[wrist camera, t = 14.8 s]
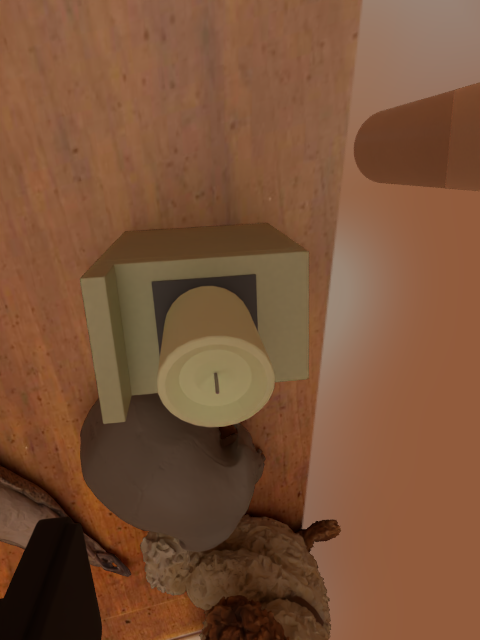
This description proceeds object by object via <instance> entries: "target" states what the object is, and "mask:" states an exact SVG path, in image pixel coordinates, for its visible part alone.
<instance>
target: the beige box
mask: <svg viewBox="0 0 480 640" xmlns="http://www.w3.org/2000/svg"><path fill="white" fill-rule="evenodd" d="M80 284H81V290H82V296H83V302H84V308H85V315H86V321H87V327H88V333H89V339H90V345H91V352H92V358H93V364H94V370H95V376H96V383H97V389H98V395H99V401H100V407H101V413H102V420H103V423H104V424H107V423H118V422H125V421H126V417H127V413H128V409H129V405H130V401H131V396H132V395H142V394H153V393H158V390H157V374H158V367H159V360H160V352H161V345H162V338H163V331H164V324H165V319H166V315H167V312H168V311H169V309H170V307H171V305H172V304H173V302H174V301H175V300H176V299H177V298H178V297H179V296H180V295H182V294H184V293H185V292H187V291H189V290H190V289H194V288H197V287H201V286H216V287H220V288H225V289H227V290H228V291H230V292H232V293H234V294H235V295H237V296H238V297H239V298H240V299H241V300H242V301H243V302H244V304H245V306H246V307H247V309H248V310H249V313H250V315H251V317H252V320H253V322H254V324H255V327H256V329H257V331H258V333H259V336H260V338H261V340H262V343H263V345H264V347H265V350H266V352H267V354H268V356H269V359H270V361H271V363H272V366H273V370H274V374H275V382H283V381H294V380H305V379H308V378H309V251H307V250H306V249H304V248H303V247H302V246H300V245H299V244H298V243H296V242H295V241H293V240H292V239H290V238H289V237H287V236H286V235H284V234H283V233H282V232H280V231H279V230H277V229H276V228H274V227H273V226H271V225H270V224H268V223H257V224H241V225H224V226H208V227H191V228H175V229H159V230H142V231H126V232H124V233H123V234H122V235H121V236H120V237H119V238H118V239H117V240H116V241H115V242H114V243H113V244H112V245H111V247H110V248H109V249H108V250H107V251H106V252H105V253H104V254H103V255H102V256H101V257H100V258H99V259H98V260H97V261H96V263H95V264H94V265H93V266H91V268H90V269H89V270H88V271H87V272H86V273H85V274H84V275H83V276H82V277H81V278H80Z"/></svg>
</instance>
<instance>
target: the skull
mask: <svg viewBox="0 0 480 640" xmlns="http://www.w3.org/2000/svg"><path fill="white" fill-rule="evenodd" d="M233 425H234V426H235V428H236V429H237V431H238V434H237V433H233V434H232V435H231V436H228V437H227V438H225V439H224V440H222V439H221V438H220V437H221V433H220V430H219V429H218V427H205V426H198V425H194V424H191V423H188V422H185V421H183V420H181V419H179V418H178V417H176V416H175V415H173V414H172V413H171V412H170V411H169V410H168V409H167V408H166V407H165V406H164V405H163V403H162V401H161V399H160V397H159V395H158V393H153V394H142V395H132V396H131V401H130V405H129V409H128V413H127V417H126V421H125V422H118V423H107V424H104V423H103V420H102V413H101V407H100V401H99V398H98V400H97V401H96V402H95V404H94V405H93V406H92V408H91V410H90V411H89V413H88V415H87V417H86V419H85V421H84V424H83V426H82V429H81V434H80V437H81V447H80V458H81V467H82V473H83V477H84V480H85V482H86V484H87V485H88V487H89V488H90V489H91V490H92V492H93V493H94V495H95V496H96V497H97V498H98V499H99V500H100V501H101V502H102V503H103V504H104V505H105V506H106V507H107V508H108V509H109V510H110V511H112V512H113V513H114V514H115V515H117V516H118V517H119V518H120V519H122V520H123V521H125V522H126V523H128V524H131V525H132V526H134V527H136V528H139V529H141V530H144V531H151V532H157V533H162V534H166V535H169V536H172V537H174V538H178V539H179V544H180V546H181V548H182V549H185V550H188V551H194V552H202V551H207V550H210V549H212V548H215V547H216V546H218V545H219V544H221V543H222V542H224V541H225V540H226V539H228V538H229V536H230V535H231V534H232V532H233V531H234V530H235V528H236V527H237V525H238V523H239V521H240V519H241V518H242V516H243V515H244V514H245V513H246V511H247V510H248V508H249V504H250V501H251V499H252V496H253V492H254V486H255V484H256V483H257V482H258V480H259V479H260V478H261V476H262V472H263V468H264V461H265V456H264V455H263V454H262V455H261V453H262V451H261V450H260V449H258V450H257V452H256V450H255V446H254V444H253V443H252V438H251V435H250V434H249V432H248V431H247V430H246V429H245V428H244V427H243V426H242V425H241V424H240V423H237V424H233Z"/></svg>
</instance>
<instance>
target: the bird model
mask: <svg viewBox="0 0 480 640" xmlns="http://www.w3.org/2000/svg"><path fill="white" fill-rule="evenodd" d="M59 517H69V516H68V515H67V514H66V513H65V512H64V510H63V509H62V508H61V507H60V506H59V505H58V503H57V502H56V501H55V500H54V499H53V498H52V497H51V496H50V495H49V494H48V493H47V492H45V491H44V490H43V489H41V488H40V487H39V486H37V485H36V484H34V483H32V482H30V481H28V480H26V479H24V478H22V477H20V476H18V475H17V474H15V473H13V472H12V471H10V470H8V469H6V468H4V467H2V466H0V541H2V542H5V543H8V544H11V545H15V546H18V547H20V548H22V549H25V548H26V546H27V544H28V542H29V539H30V537H31V535H32V533H33V530H34V528H35V526H36V524H37V522H38V521H39V520H40V519H49V518H59ZM72 522H73V521H72ZM73 524H75V523H74V522H73ZM83 534H84V533H83ZM84 539H85V544H86V549H87V554H88V558H89V563H90V564H91V565H93V566H98V567H102V568H103V569H104V570H106V571H111V572H114V573H117V574H120V575H123V576H127V577H128V576H130V575H131V572H130V571H129V569H128V568H127V567H126V566H125V565H124V564H123V563H122V562H121V561H120V559H119V558H118V557H116V556H115V555H114V554H112V553H107V552H106V551H105V550H104V549H103V548H102V547H101V546H100V545H99V544H98V543H97V542H96V541H94V540H93V539H91V538H90V537H88V536H87V535H86V534H84ZM113 562H114V563H115V564H116V565H117V567H114V566H113V565H112V563H113Z"/></svg>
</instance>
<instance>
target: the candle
mask: <svg viewBox="0 0 480 640" xmlns="http://www.w3.org/2000/svg"><path fill="white" fill-rule="evenodd" d="M274 384H275V374H274V370H273V366H272V363H271V361H270V359H269V356H268V354H267V352H266V350H265V347H264V345H263V343H262V340H261V338H260V336H259V333H258V331H257V329H256V327H255V324H254V322H253V320H252V317H251V315H250V313H249V310H248V309H247V307H246V306H245V304H244V302H243V301H242V300H241V299H240V298H239V297H238V296H237V295H235V294H234V293H232V292H230V291H228V290H227V289H225V288H220V287H216V286H201V287H197V288H194V289H190V290H189V291H187V292H185V293H184V294H182V295H180V296H179V297H178V298H177V299H176V300H175V301H174V302H173V304H172V305H171V307H170V309H169V311H168V312H167V315H166V319H165V324H164V331H163V338H162V345H161V352H160V360H159V367H158V374H157V390H158V395H159V397H160V399H161V401H162V403H163V405H164V406H165V407H166V408H167V409H168V410H169V411H170V412H171V413H172V414H173V415H175V416H176V417H178V418H179V419H181V420H183V421H185V422H188V423H191V424H194V425H198V426H205V427H224V426H228V425H233V424H237V423H239V422H242V421H244V420H246V419H248V418H250V417H252V416H253V415H254V414H256V413H257V412H258V411H260V410H261V409H262V408H263V407H264V405H265V404H266V403H267V402H268V401H269V399H270V397H271V394H272V392H273V390H274Z"/></svg>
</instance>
